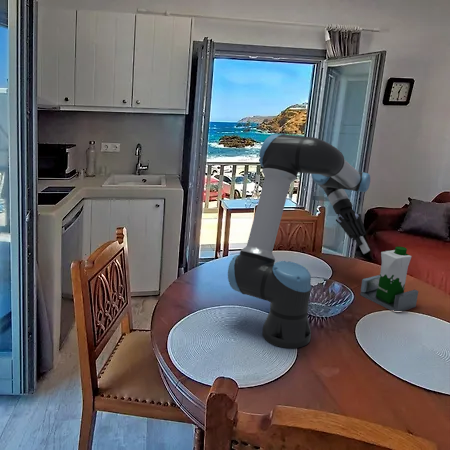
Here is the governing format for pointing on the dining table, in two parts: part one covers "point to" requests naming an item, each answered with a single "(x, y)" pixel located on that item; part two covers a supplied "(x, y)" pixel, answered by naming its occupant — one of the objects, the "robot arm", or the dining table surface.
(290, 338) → the robot arm
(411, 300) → the vise base
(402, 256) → the soya milk
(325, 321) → the dining table surface
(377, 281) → the block
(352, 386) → the dining table surface
